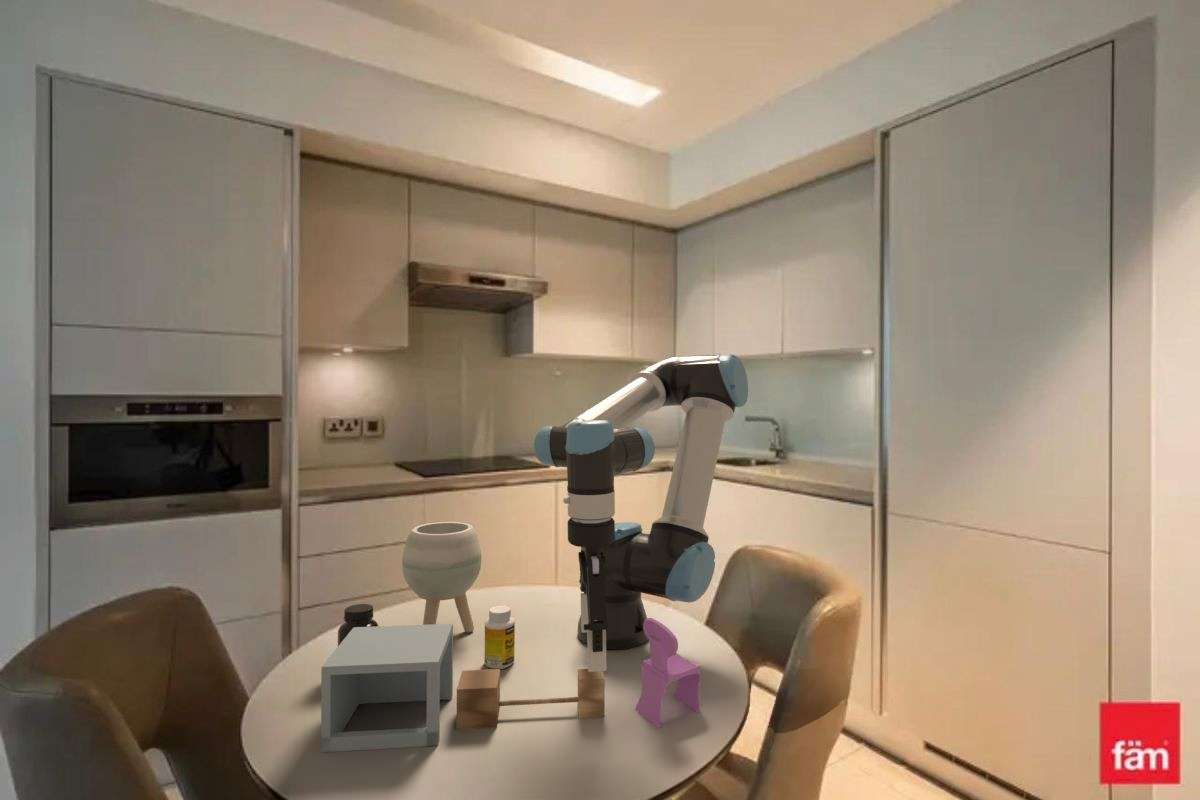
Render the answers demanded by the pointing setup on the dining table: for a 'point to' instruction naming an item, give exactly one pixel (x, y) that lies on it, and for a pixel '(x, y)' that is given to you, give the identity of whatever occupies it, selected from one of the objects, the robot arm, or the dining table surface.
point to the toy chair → (665, 673)
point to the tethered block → (483, 700)
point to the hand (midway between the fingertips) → (592, 649)
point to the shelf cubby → (386, 683)
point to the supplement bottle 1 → (356, 619)
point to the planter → (442, 566)
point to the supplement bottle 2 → (499, 638)
